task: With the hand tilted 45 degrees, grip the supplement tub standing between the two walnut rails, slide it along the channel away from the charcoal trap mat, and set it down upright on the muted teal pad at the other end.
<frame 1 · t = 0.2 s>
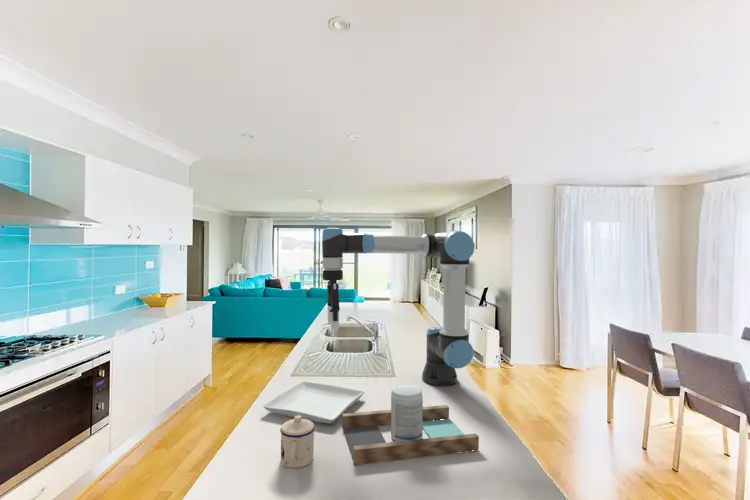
hand: (333, 326, 143), 28 cm above the countertop, tool pointing down, fingers open, 13 cm apart
channel rails: (406, 437, 117), on the countertop
teacup with lid: (296, 463, 102), on the countertop
trap mat: (366, 441, 114), on the countertop
square plate: (316, 408, 138), on the countertop
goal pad: (444, 433, 120), on the countertop
supplement tub: (406, 438, 117), on the countertop
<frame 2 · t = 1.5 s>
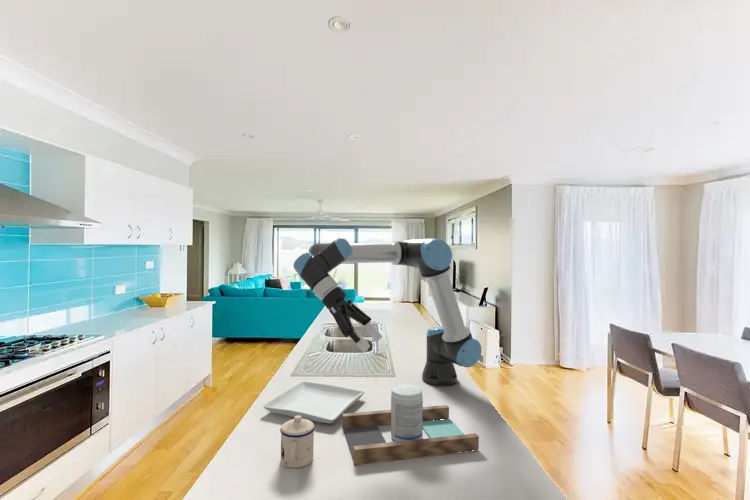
hand: (373, 344, 120), 27 cm above the countertop, tool tilted 45°, fingers open, 13 cm apart
nothing on the countertop moved.
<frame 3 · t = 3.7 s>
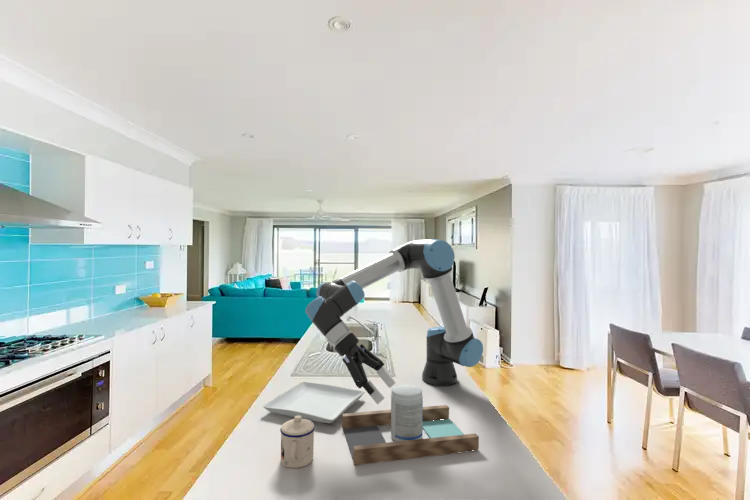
hand: (387, 393, 118), 13 cm above the countertop, tool tilted 45°, fingers open, 13 cm apart
nothing on the countertop moved.
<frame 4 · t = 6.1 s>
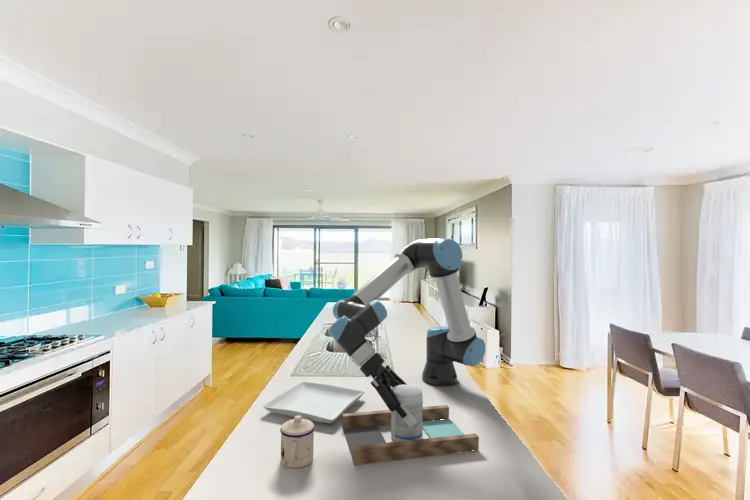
hand: (416, 417, 116), 7 cm above the countertop, tool tilted 45°, fingers closed on supplement tub, 9 cm apart
supplement tub: (406, 438, 117), on the countertop, touching gripper
everything else where it was.
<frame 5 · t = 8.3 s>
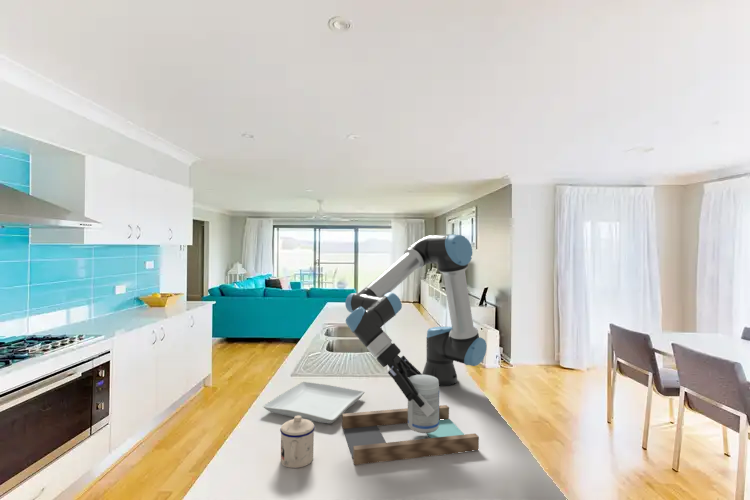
hand: (433, 406, 117), 10 cm above the countertop, tool tilted 45°, fingers closed on supplement tub, 9 cm apart
supplement tub: (423, 427, 118), point 3 cm above the countertop, touching gripper
everything else where it was.
when the fingers open (8 cm above the countertop, at t = 10.7 s): supplement tub drops 1 cm, resting on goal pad.
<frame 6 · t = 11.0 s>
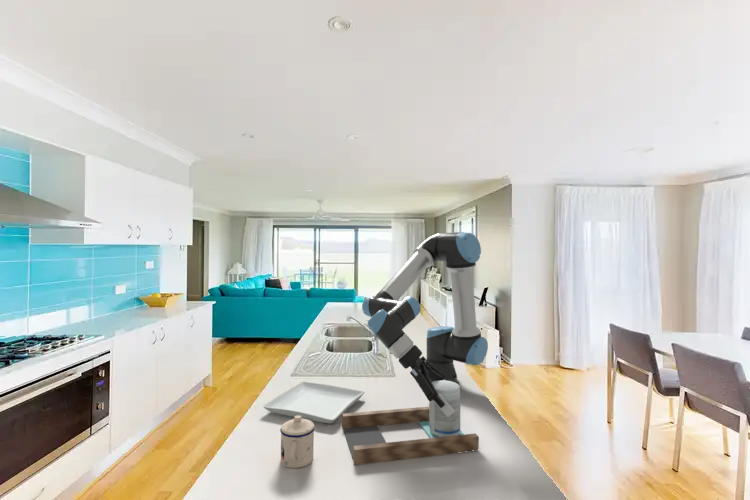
hand: (453, 405, 119), 9 cm above the countertop, tool tilted 45°, fingers open, 12 cm apart
supplement tub: (444, 432, 120), resting on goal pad
everything else where it was.
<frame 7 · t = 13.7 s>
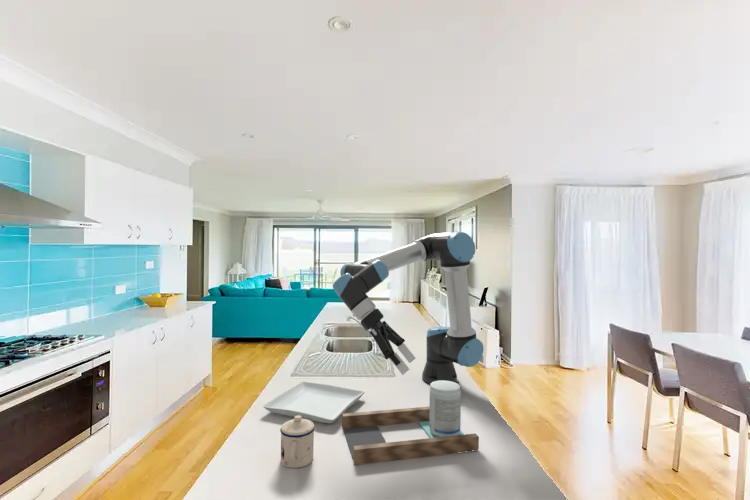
hand: (409, 366, 124), 20 cm above the countertop, tool tilted 40°, fingers open, 13 cm apart
nothing on the countertop moved.
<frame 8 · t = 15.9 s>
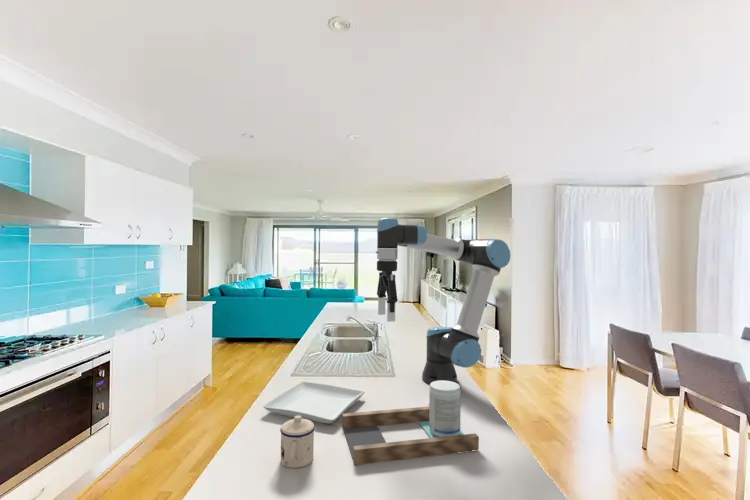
hand: (386, 317, 142), 32 cm above the countertop, tool pointing down, fingers open, 13 cm apart
nothing on the countertop moved.
at the end: supplement tub inside the target area on the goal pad (0.2 cm from its centre), point 0.2 cm above the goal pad's base; supplement tub tilted 0°; the gripper is holding nothing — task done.
